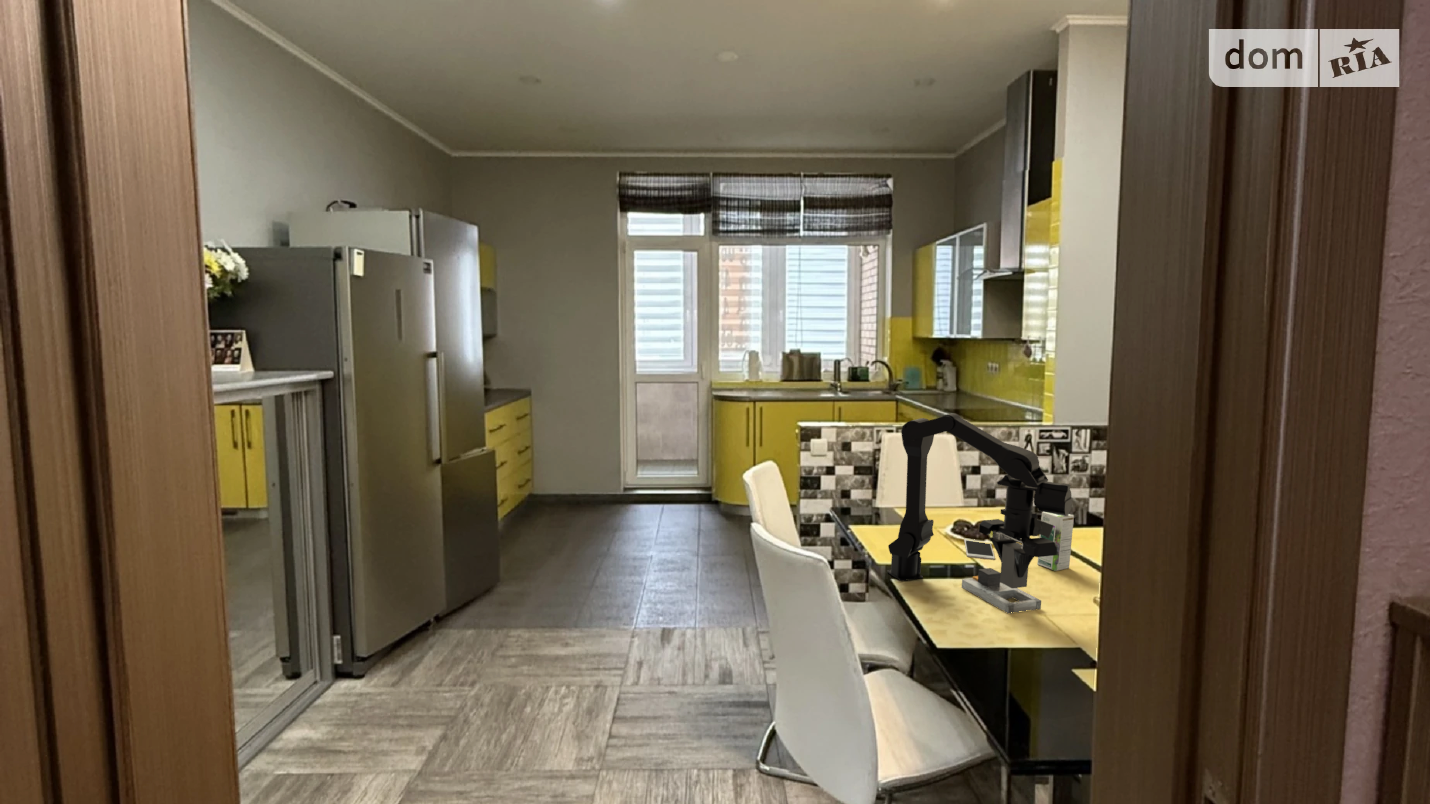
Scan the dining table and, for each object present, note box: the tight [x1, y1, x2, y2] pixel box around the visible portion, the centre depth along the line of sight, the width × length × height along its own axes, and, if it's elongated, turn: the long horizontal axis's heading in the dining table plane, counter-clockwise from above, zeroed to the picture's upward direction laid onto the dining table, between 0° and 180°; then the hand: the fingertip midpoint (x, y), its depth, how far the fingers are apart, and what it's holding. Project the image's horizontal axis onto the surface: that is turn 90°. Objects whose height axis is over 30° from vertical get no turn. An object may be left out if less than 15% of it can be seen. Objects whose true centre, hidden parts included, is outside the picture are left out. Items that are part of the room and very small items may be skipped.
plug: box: [1000, 542, 1029, 589], centre depth 166 cm, size 4×4×9 cm
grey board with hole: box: [961, 567, 1042, 614], centre depth 170 cm, size 9×16×5 cm, turn 19°
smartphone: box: [963, 538, 996, 560], centre depth 205 cm, size 7×15×1 cm, turn 164°
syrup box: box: [1037, 511, 1075, 572], centre depth 192 cm, size 6×6×14 cm
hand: (1013, 573), depth 166 cm, fingers closed on plug, 4 cm apart
